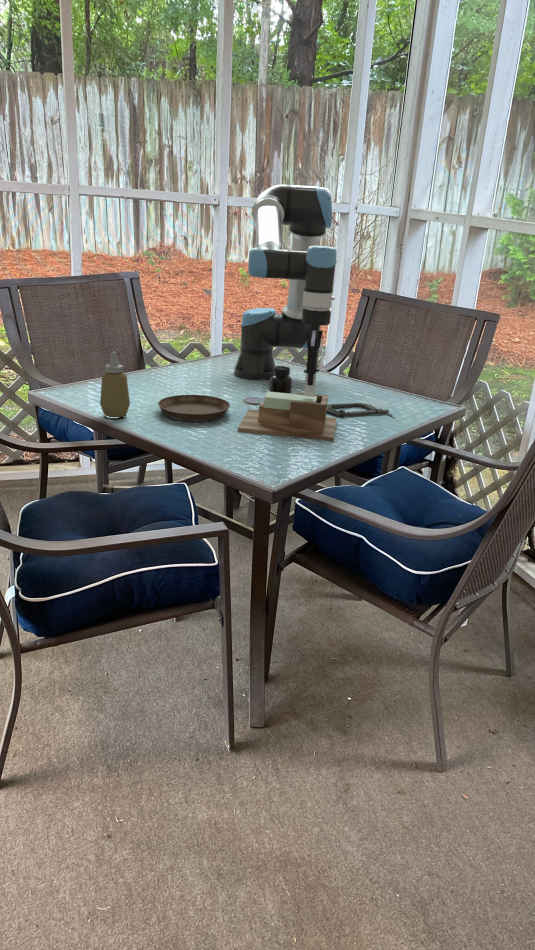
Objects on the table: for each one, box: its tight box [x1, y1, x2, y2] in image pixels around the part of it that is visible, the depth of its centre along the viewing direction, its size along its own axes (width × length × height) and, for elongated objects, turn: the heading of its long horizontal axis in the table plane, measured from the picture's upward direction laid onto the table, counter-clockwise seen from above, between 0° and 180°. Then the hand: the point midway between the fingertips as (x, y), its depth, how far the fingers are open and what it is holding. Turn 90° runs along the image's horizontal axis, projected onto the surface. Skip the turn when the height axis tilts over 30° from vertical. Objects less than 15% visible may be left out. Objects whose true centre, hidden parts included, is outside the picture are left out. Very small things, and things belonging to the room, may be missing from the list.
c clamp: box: [326, 402, 396, 419], centre depth 203 cm, size 20×17×3 cm
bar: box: [263, 391, 317, 410], centre depth 184 cm, size 6×14×3 cm, turn 82°
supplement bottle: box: [268, 365, 293, 394], centre depth 203 cm, size 7×7×12 cm
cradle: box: [237, 391, 337, 442], centre depth 185 cm, size 18×26×8 cm
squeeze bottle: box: [99, 351, 131, 418], centre depth 182 cm, size 8×8×18 cm
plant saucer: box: [157, 394, 231, 423], centre depth 192 cm, size 21×21×3 cm
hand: (309, 395), depth 183 cm, fingers closed
